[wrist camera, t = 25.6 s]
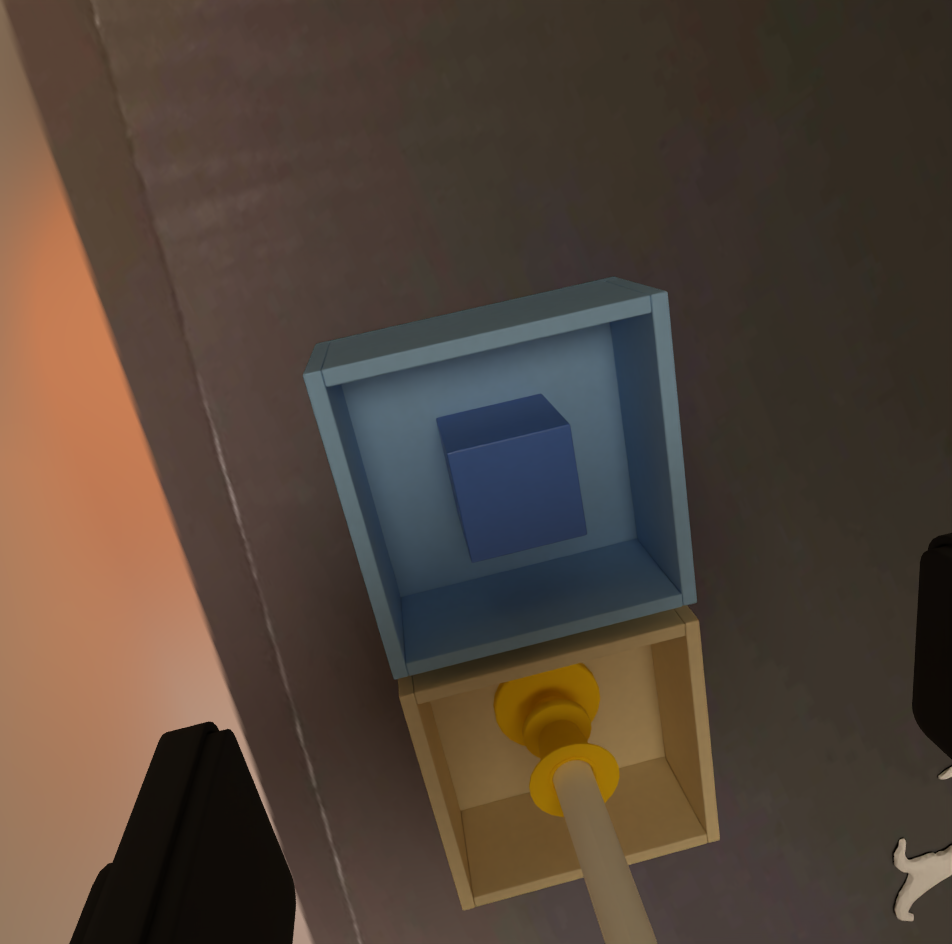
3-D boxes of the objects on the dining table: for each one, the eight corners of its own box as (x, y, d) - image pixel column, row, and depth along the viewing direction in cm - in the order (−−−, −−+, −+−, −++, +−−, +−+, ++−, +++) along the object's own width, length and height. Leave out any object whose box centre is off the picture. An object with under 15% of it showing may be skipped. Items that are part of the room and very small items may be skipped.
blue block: (457, 515, 30) (471, 564, 26) (435, 417, 29) (446, 453, 25) (558, 490, 31) (588, 535, 26) (542, 392, 29) (570, 423, 25)
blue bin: (390, 605, 32) (393, 680, 27) (315, 343, 28) (302, 374, 22) (647, 541, 33) (697, 603, 28) (614, 276, 28) (668, 290, 23)
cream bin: (450, 814, 37) (462, 911, 32) (394, 619, 32) (398, 697, 27) (673, 754, 37) (720, 840, 32) (648, 556, 33) (699, 620, 28)
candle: (474, 722, 34) (547, 1096, 20) (526, 638, 33) (645, 972, 19) (563, 754, 36) (692, 1123, 21) (617, 674, 34) (792, 1010, 20)
